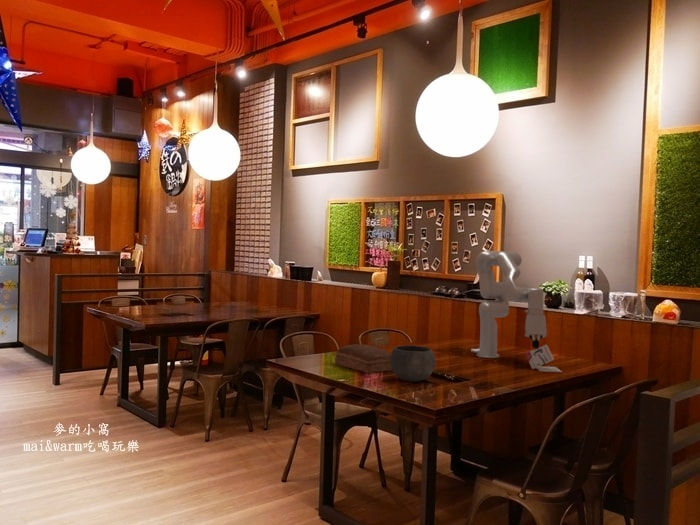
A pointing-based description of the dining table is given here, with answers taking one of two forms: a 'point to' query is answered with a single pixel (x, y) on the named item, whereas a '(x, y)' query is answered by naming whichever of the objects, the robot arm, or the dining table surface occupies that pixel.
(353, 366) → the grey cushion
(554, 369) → the mat
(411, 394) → the dining table surface
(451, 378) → the dining table surface
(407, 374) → the bowl
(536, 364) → the ink box
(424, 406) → the dining table surface
